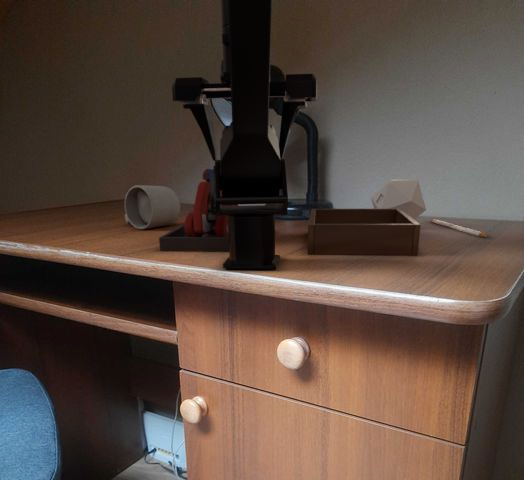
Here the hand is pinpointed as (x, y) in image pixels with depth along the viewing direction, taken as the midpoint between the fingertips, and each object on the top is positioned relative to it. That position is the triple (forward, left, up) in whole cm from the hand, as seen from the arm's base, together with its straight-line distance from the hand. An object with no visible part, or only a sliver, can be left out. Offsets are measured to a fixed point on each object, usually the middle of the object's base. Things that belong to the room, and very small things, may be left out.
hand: (247, 160), depth 69 cm
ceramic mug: (+20, +22, -12) cm, 32 cm away
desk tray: (+6, +6, -12) cm, 15 cm away
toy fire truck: (+6, +6, -12) cm, 14 cm away
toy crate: (+4, -16, -12) cm, 20 cm away
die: (+21, -24, -12) cm, 34 cm away
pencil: (+18, -34, -12) cm, 40 cm away
